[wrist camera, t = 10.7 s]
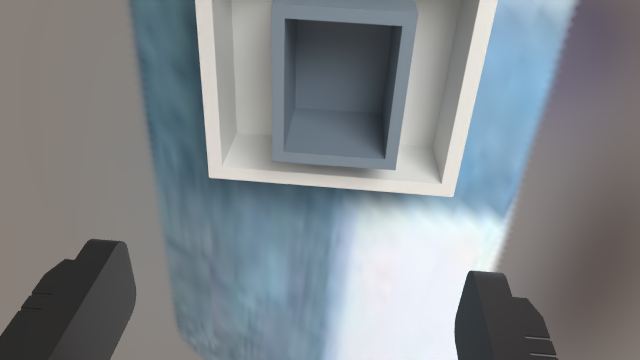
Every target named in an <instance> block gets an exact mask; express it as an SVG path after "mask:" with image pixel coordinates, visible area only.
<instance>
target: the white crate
mask: <svg viewBox="0 0 640 360" xmlns="http://www.w3.org/2000/svg"><path fill="white" fill-rule="evenodd" d="M272 1H273V0H195V6H196V19H197V32H198V44H199V57H200V70H201V82H202V95H203V107H204V120H205V133H206V145H207V158H208V171H209V178H219V179H231V180H244V181H257V182H269V183H282V184H295V185H307V186H320V187H333V188H345V189H358V190H371V191H383V192H396V193H409V194H421V195H434V196H447V197H453V196H454V191H455V187H456V183H457V178H458V174H459V169H460V165H461V160H462V156H463V152H464V147H465V143H466V138H467V134H468V130H469V125H470V121H471V116H472V112H473V108H474V103H475V99H476V94H477V90H478V86H479V81H480V77H481V72H482V68H483V64H484V59H485V55H486V50H487V46H488V42H489V37H490V33H491V28H492V24H493V19H494V15H495V11H496V6H497V2H498V0H414V1H415V4H416V7H417V10H418V19H417V26H416V33H415V40H414V47H413V54H412V61H411V67H410V74H409V81H408V88H407V95H406V102H405V109H404V116H403V122H402V129H401V136H400V143H399V150H398V157H397V164H396V170H383V169H370V168H356V167H343V166H330V165H316V164H303V163H290V162H276V161H272V81H271V3H272Z"/></svg>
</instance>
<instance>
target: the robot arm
mask: <svg viewBox="0 0 640 360" xmlns="http://www.w3.org/2000/svg"><path fill="white" fill-rule="evenodd" d="M135 300H136V286H135V281H134V276H133V272H132V267H131V262H130V258H129V253H128V249H127V245H126V244H125V242H122V241H111V240H98V239H91V240H89V241H88V242H87V243H86V244H85V246H84V247H83V248H82V250H81V251H80V253H79V254H78V256H77V257H76V259H75V260H69V259H64V260H63V261H62V262H60V263H59V264H58V265H57V266H55V267H54V268H52V269H51V270H50V271H48V272H47V273H46V274H45V275H44V276H43V277H42V279H41V280H40V282H39V283H38V284H37V286H36V287H35V289H34V290H33V291H32V295H31V296H29V297H28V299H27V300H26V301H25V303H24V304H23V305H22V307H21V311H18V312H17V314H16V315H15V317H14V318H13V319H12V321H11V322H10V323H9V325H8V326H7V328H6V329H5V330H4V332H3V333H2V334H1V336H0V360H110V358H111V356H112V354H113V352H114V350H115V348H116V346H117V344H118V342H119V340H120V338H121V336H122V334H123V331H124V329H125V327H126V325H127V323H128V321H129V319H130V317H131V314H132V312H133V309H134V306H135ZM455 344H456V349H457V355H458V360H558V359H557V358H556V352H555V349H554V346H553V344H552V342H551V341H550V336H549V333H548V330H547V327H546V325H545V322H544V319H543V317H542V316H541V314H540V313H539V312H538V311H537V310H536V309H535V308H534V306H533V305H532V304H531V303H530V301H528V299H527V298H517V297H512V294H511V291H510V288H509V285H508V282H507V279H506V276H505V275H504V274H503V273H494V272H481V271H469V273H468V275H467V277H466V281H465V285H464V288H463V292H462V296H461V299H460V303H459V306H458V310H457V314H456V319H455Z"/></svg>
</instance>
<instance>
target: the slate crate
mask: <svg viewBox="0 0 640 360" xmlns="http://www.w3.org/2000/svg"><path fill="white" fill-rule="evenodd" d="M417 19H418V10H417V7H416V4H415V1H414V0H273V1H272V3H271V81H272V161H276V162H290V163H303V164H316V165H330V166H343V167H356V168H370V169H383V170H396V164H397V157H398V150H399V143H400V136H401V129H402V122H403V116H404V109H405V102H406V95H407V88H408V81H409V74H410V67H411V61H412V54H413V47H414V40H415V33H416V26H417Z"/></svg>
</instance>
